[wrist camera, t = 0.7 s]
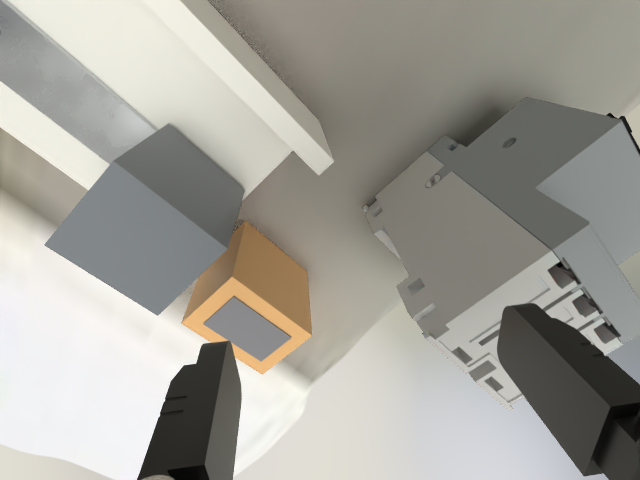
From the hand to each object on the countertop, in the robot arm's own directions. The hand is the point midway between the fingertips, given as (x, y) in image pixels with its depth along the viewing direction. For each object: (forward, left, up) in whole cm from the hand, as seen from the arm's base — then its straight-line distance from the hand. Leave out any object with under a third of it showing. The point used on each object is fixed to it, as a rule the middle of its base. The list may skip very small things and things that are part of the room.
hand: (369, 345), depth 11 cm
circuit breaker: (-7, +9, -19) cm, 22 cm away
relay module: (+10, +3, -19) cm, 22 cm away
